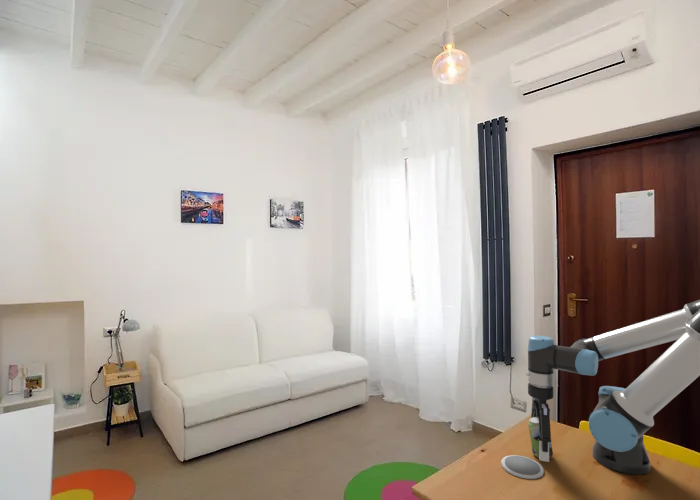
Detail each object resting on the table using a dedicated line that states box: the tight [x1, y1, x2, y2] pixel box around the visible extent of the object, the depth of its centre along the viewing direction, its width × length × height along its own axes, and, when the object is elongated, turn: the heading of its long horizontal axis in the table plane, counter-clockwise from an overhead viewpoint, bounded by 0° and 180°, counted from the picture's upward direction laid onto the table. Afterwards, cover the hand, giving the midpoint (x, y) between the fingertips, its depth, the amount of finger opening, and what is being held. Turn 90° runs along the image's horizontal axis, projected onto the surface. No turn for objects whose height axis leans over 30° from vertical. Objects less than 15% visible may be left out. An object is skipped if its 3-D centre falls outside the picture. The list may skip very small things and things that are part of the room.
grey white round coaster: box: [500, 454, 545, 480], centre depth 120 cm, size 12×12×1 cm
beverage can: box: [527, 417, 554, 459], centre depth 126 cm, size 6×7×12 cm
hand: (540, 451), depth 126 cm, fingers open, 10 cm apart
